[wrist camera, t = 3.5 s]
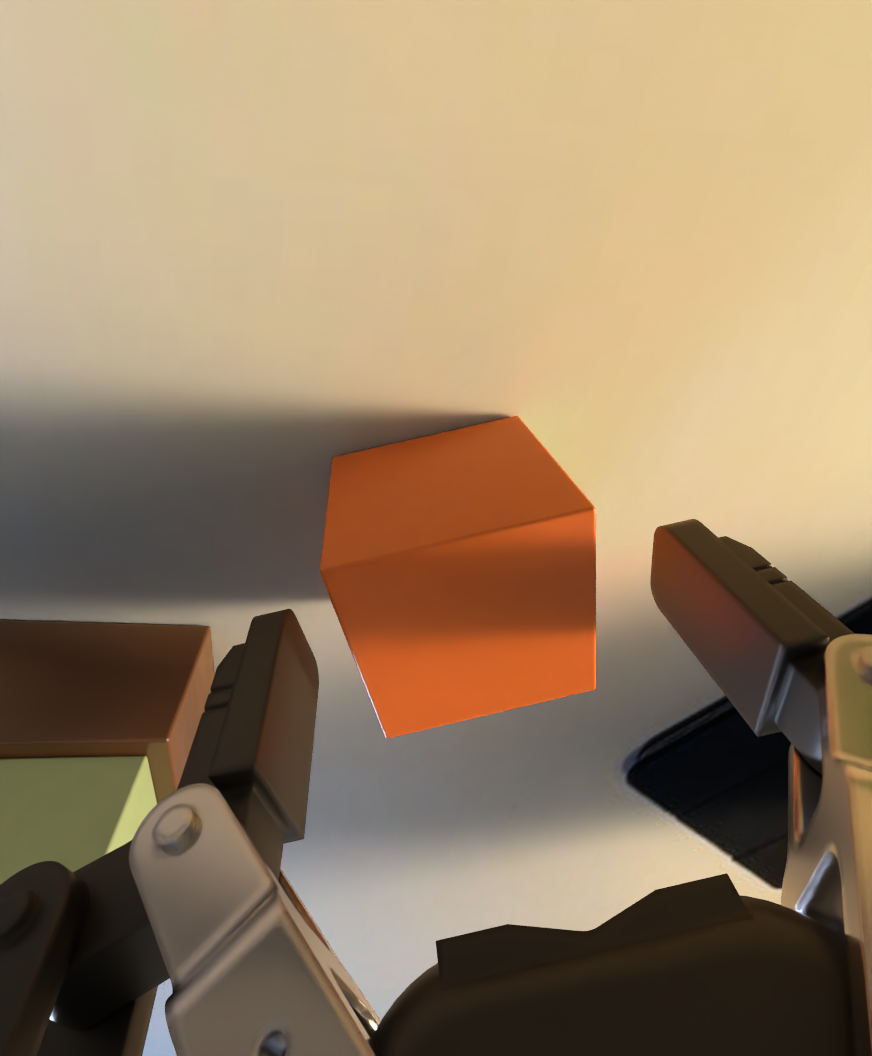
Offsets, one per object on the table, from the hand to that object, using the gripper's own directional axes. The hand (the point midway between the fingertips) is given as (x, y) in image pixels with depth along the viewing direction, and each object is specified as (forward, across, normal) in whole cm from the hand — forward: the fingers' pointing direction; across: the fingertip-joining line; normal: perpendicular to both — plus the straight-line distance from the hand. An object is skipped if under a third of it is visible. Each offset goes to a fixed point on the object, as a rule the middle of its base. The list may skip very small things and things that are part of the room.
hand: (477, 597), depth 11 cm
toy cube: (+4, 0, 0) cm, 4 cm away
